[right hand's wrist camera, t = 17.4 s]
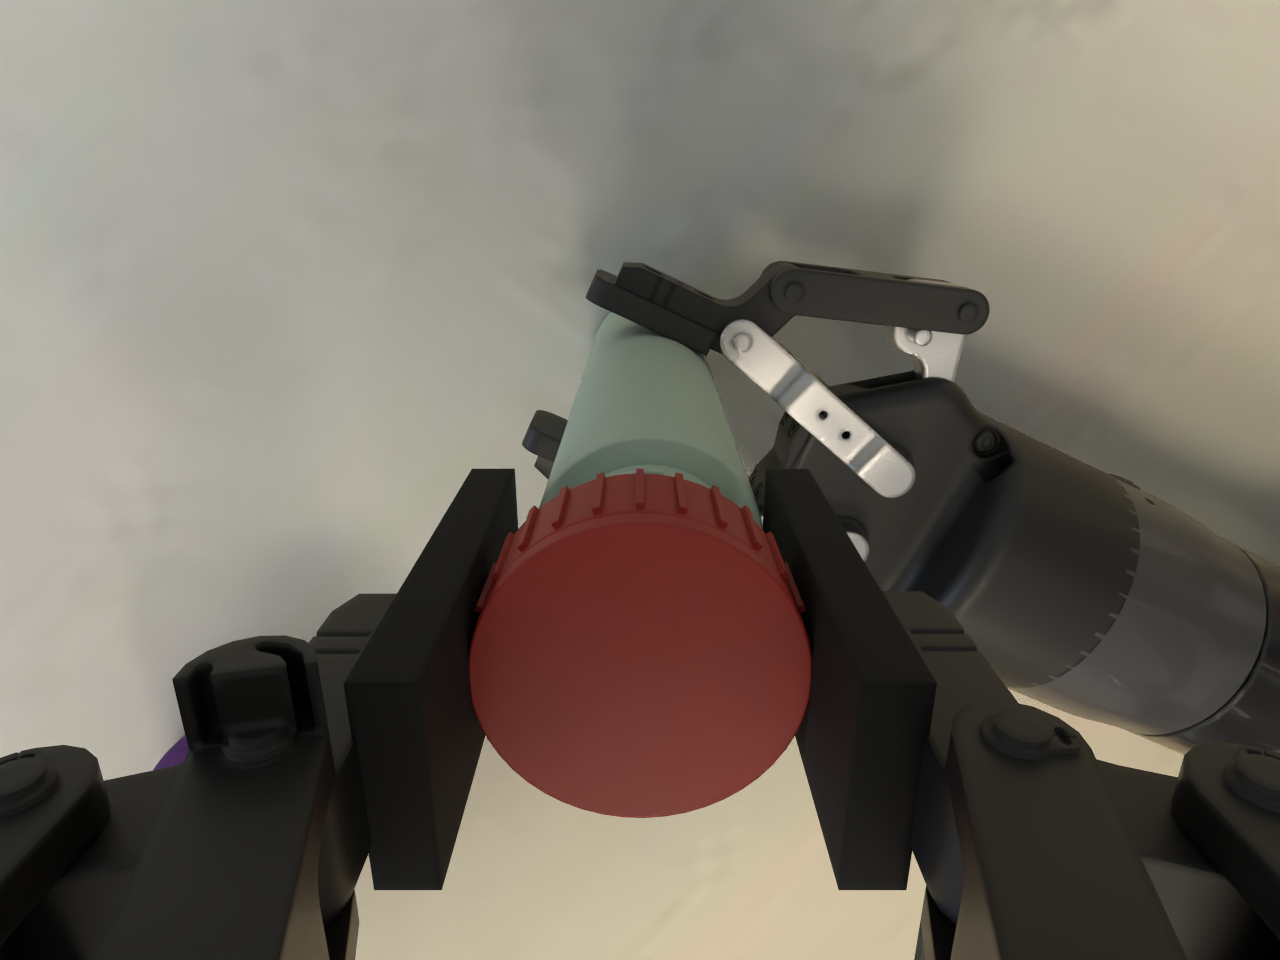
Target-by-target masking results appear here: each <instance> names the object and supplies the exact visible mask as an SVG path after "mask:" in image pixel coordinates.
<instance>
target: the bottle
mask: <svg viewBox="0 0 1280 960" xmlns="http://www.w3.org/2000/svg"><path fill="white" fill-rule="evenodd" d="M636 469H644V474H660V475H666V476H672V477H675V473H681V474H683V479H685V480H688V481H691V482H695V483H698V484H700V485H703V486H705V487H707V488H709V489H711V487H712V485H715V486H717V487H719V489H720V493H721V495H723V496H724V497H726V498H728V499H729V500H731V501H733V502H734V503H735V504H736V505H738V506H739V507H740V508H742V507H743V506H744V505H746V506H747V507H748V508H749V509H750V510H751V513H752V516H753V519H754V521H755V522H756V523H757V524H758V525H759V526H760V527H761V528H762V530H763V525H762V519H761V515H760V512H759V509H758V505H757V503H756V500H755V497H754V494H753V491H752V488H751V485H750V483H749V480H748V477H747V474H746V471H745V468H744V465H743V463H742V460H741V457H740V454H739V451H738V448H737V445H736V443H735V440H734V437H733V434H732V431H731V428H730V425H729V423H728V420H727V417H726V414H725V411H724V408H723V405H722V403H721V400H720V397H719V394H718V391H717V388H716V385H715V383H714V380H713V377H712V374H711V371H710V368H709V365H708V363H707V360H706V357H705V355H703V354H701V353H699V352H696V351H694V350H692V349H690V348H688V347H686V346H684V345H682V344H680V343H678V342H676V341H673V340H671V339H668V338H666V337H664V336H662V335H660V334H658V333H656V332H653V331H651V330H649V329H647V328H645V327H643V326H641V325H638V324H636V323H634V322H632V321H630V320H628V319H626V318H623V317H621V316H619V315H617V314H615V313H613V312H611V313H610V314H609V315H608V316H607V317H606V318H605V319H604V321H603V322H602V324H601V325H600V327H599V329H598V331H597V334H596V337H595V340H594V343H593V346H592V349H591V352H590V355H589V358H588V361H587V364H586V367H585V370H584V373H583V376H582V380H581V383H580V386H579V389H578V392H577V395H576V398H575V401H574V404H573V407H572V410H571V413H570V416H569V419H568V422H567V425H566V428H565V431H564V434H563V437H562V440H561V443H560V446H559V449H558V452H557V456H556V459H555V462H554V465H553V468H552V471H551V474H550V477H549V480H548V483H547V486H546V489H545V492H544V495H543V498H542V501H541V504H540V507H541V506H543V505H544V504H546V503H547V502H549V501H550V500H552V499H553V498H554V497H556V496H557V495H559V492H560V489H561V488H562V487H564V486H566V485H567V486H568V488H569V489H571V488H573V487H575V486H578V485H580V484H583V483H586V482H589V481H592V480H595V479H596V477H597V474H600V473H604V474H605V477H609V476H613V475H622V474H634V473H636ZM540 507H539V508H540Z"/></svg>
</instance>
